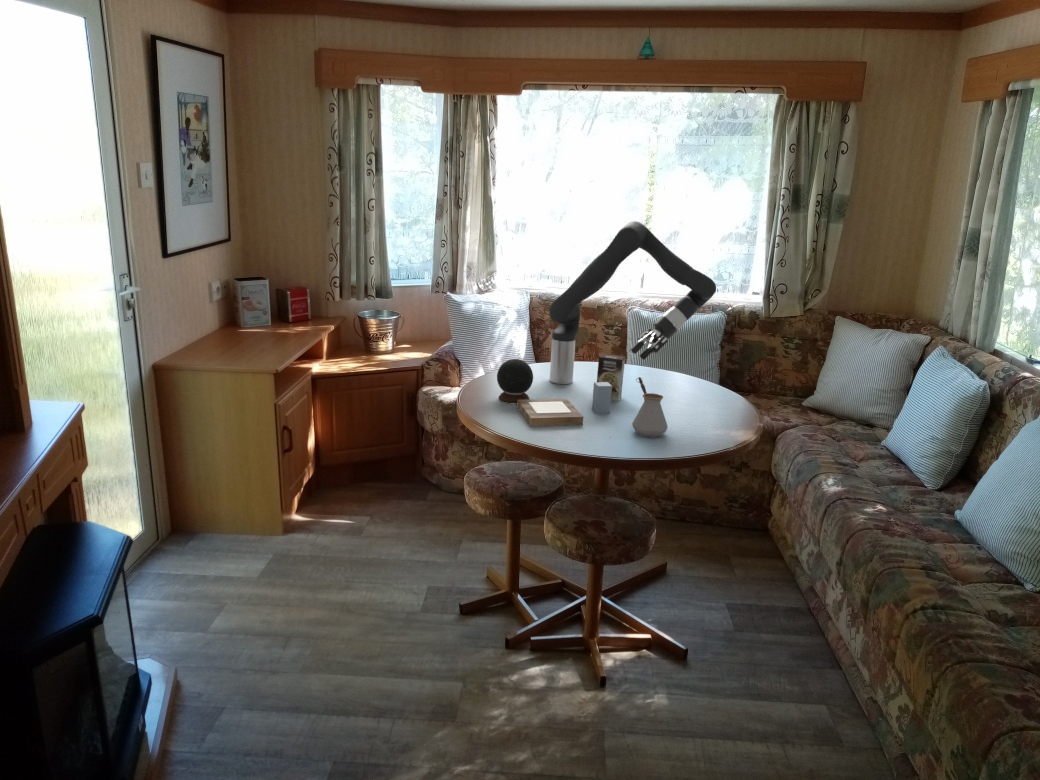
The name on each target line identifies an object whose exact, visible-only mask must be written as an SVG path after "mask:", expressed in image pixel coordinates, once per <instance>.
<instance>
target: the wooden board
mask: <svg viewBox="0 0 1040 780" xmlns="http://www.w3.org/2000/svg"><path fill="white" fill-rule="evenodd" d="M516 405H517V407H518V408H517V409H519V410H520V411H519V410H518V411H519V412H520V414H521V413H522V414H521V416H522V417H523V416H524V417H523V418H524V420H525V419H526V420H525V421H526V422H527V424H528V426H529V427H530V426H539V427H564V426H563V425H571V426H583V425H584V415H582V413H581V412H580V411H579V410H578V409H577V408H576V407H575V405H574V404H572V402H570V400H569V399H568V398H538V399H537V398H536V399H532V398H531V399H530V398H529V399H527V400H518V404H516Z"/></svg>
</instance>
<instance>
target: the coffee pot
mask: <svg viewBox="0 0 1040 780" xmlns="http://www.w3.org/2000/svg"><path fill="white" fill-rule="evenodd" d="M637 380H638V381H637ZM635 381H636V383H639V384H640V388H641V390H642V392H643V395H642V397H643V400H644V401H643V403H642V405H641V406H640V408H639V410H638V412H637V414H636V416H634V419H633V421H632V423H631V424H632V427H633V430H634V431H635V432H636V433H637V435H640V436H641V437H645V438H659V437H660V436H661V435H663V434H665V432H666V431H667V430H668V423H667V420H666V417H665V413H664V411H663V407H662V405H661V402H662V400H663V399H664V396H663V395H661V394H658V393H648V392H647V390H646V386H645V384H644V382H643V378H642V377H640V376H639V377H637V378H635Z"/></svg>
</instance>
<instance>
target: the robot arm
mask: <svg viewBox="0 0 1040 780" xmlns="http://www.w3.org/2000/svg"><path fill="white" fill-rule="evenodd" d="M638 249H641V250H643V251H645V252H646V253H647V254H649V256H651V257H652V258H653V259H654V260H655V261H656V263H657V264H658V265H659V267H660V268H661V269H662V271H663V272H664V273H665V274H666V275H668V276H669V277H670V278H671V279H673V280H674V281H675V282H677V283H678V284H680V285H682V286H686V287H687V288H688V289H690V290H689V292H688V293H686V295H685V296H683V297H681V298H680V299H678V301H677V302H675V304H673V305H672V306H671V307H670V308H669V309H668V310H666V311H665V312H664V313H663V314H662V315H661V316H660V317H659V318H658V319H657V320H655V322H654V323H653V326H654V328H653V329H651V327H648V328H647V329H646V330H645V331H644V332H643V333H642V334H641V335H639V336H638V337H637V338H636V339H637V343H636V344H635V345H633V346H632V347H631V349H630V351H631V352H632V353H633V354H634V355H635V354H637V353H638V352H639V351H640V350H641V349H642V348H643V347H644V346H647V348H645V349H644V350H643V351H642V352H641V353H640V354H639V357H640V359H642V360H645V359H647V358H648V357H649V356H650V355H651V354H653V353H655V354H657V353H658V352H659V351H661V349H662V348H663V347H664V346H665V345H666V344H667V343H668V342H669V341H668V340H670V339H671V338H672V337H673V336H674V335H675V334H676V333H677V332H678V331H679V330H680V329H681V328H682V327H684V325H685V323H686V322H687V321H688V320H689V319H691V317H693V315H694V314H695V313H697V311H698V310H699V309H700V308H701V307H703V306H704V305H705V304H706V303H707V302H708V301H709V300H710V299H711V298H712V297H713V296H714V295H715V294H716V291H717V284H716V282H715V281H714V280H713V279H712V278H711V277H709V276H707V275H706V274H704V273H702V272H701V271H698V270H697V269H696V268H695V269H694V268H693V266H691V265H690V264H688V263H687V262H686V261H685V260H684V259H682V258H680V257H679V256H678V255H677V254H675V253H674V252H673V251H671V249H669V248H668V247H667V246H666V245H665V244H664V243H663V242H661V240H659V238H658V237H656V236H655V235H654V233H653V232H651V231H650V229H649V228H648V227H647V226H646V225H645V224H644V223H642V222H640V221H637V220H632V221H629V222H628V223H626V224H625V225H624V226H623V227H622V228H620V229H619V230H618V231H617V233H616V235H615V236H614V238H613V239H612V240H611V242H610V243H609V245H608V246H607V247H606V249H604V250H603V251H602V252H601V253H600V254H598V256H596V257H595V258H594V259H593V260H592V261H591V262H590V263H589V264H588V265H587V266H586V267H585V269H584V270H583V271H582V272H581V273H580V274H579V276H578V277H577V278H576V279H575V280H574V281H572V282H573V283H572V284H571V285H570V286H569V287H568V288H567V289H566V290H565V291H564V292H563V293H561V294H560V295H559V296H558V297H556V299H555V300H554V301H553V302H552V303H551V305H550V307H549V312H548V313H549V315H548V316H549V317H550V319H551V321H553V322H554V323H557V324H558V326H557V327H556V328H555V329H553V331H552V335H551V351H550V364H549V365H550V368H549V382H551V383H553V384H557V385H568V384H571V383H573V381H574V368H575V353H576V351H575V350H576V339H577V334H578V332H579V327H580V320H581V319H580V318H581V307H580V304H581V302H582V303H583V301H585V300H586V299H588V298H589V297H591V296H593V295H594V294H595V293H598V291H600V290H601V289H602V288H604V286H605V285H606V284H607V283H608V282H609V280H610V279H612V277H613V275H614V274H615V272H616V270H617V269H618V268H619V266H621V265H620V264H622V263H623V262H624V260H626V259H627V258H628V257H629V256H631V255H632V254H633V253H635V252H636V251H637V250H638Z"/></svg>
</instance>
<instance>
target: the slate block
mask: <svg viewBox="0 0 1040 780" xmlns="http://www.w3.org/2000/svg"><path fill="white" fill-rule="evenodd" d="M611 393H612V385H610V384H609V383H608V382H597V381H595V382H594V381H593V390H592V401H591V402H592V405H591V410H592V411H593V412H594V413H595V414H598V415H599V414H600V415H601V414H610V413H611V404H612V403H611V402H612V401H611Z"/></svg>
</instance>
